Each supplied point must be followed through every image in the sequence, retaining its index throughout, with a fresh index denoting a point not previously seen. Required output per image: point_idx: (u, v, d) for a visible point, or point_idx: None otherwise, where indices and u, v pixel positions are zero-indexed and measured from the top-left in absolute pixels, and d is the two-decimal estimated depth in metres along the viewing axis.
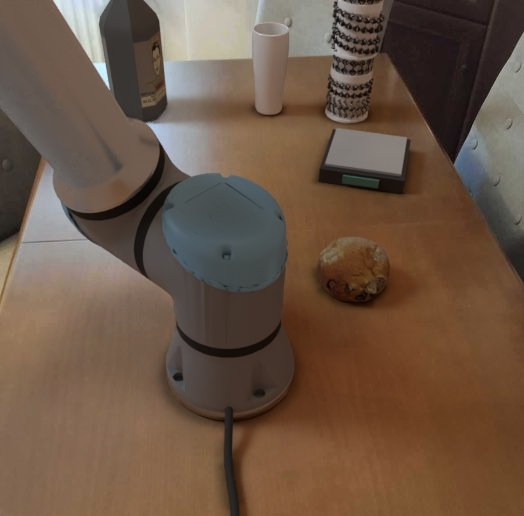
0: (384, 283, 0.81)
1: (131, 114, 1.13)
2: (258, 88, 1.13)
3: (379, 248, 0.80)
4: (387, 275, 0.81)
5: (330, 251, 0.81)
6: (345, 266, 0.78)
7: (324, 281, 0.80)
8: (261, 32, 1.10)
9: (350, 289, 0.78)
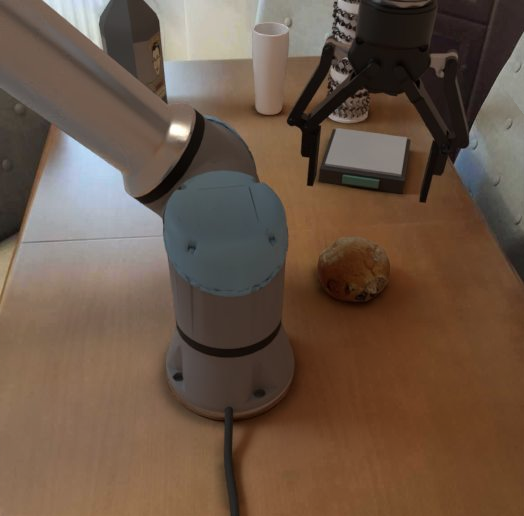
0: (384, 283, 0.81)
1: None
2: (258, 88, 1.13)
3: (379, 248, 0.80)
4: (387, 275, 0.81)
5: (330, 251, 0.81)
6: (345, 266, 0.78)
7: (324, 281, 0.80)
8: (261, 32, 1.10)
9: (350, 289, 0.78)
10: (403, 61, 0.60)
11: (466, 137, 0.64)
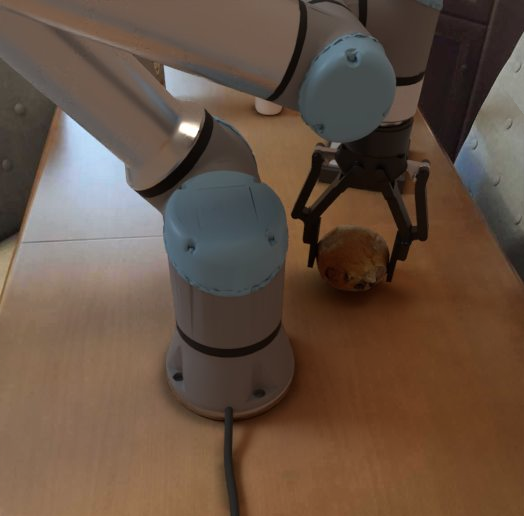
0: (383, 272, 0.79)
1: None
2: None
3: (379, 237, 0.79)
4: (387, 264, 0.79)
5: (329, 238, 0.79)
6: (344, 253, 0.76)
7: (322, 269, 0.79)
8: None
9: (349, 278, 0.77)
10: (384, 165, 0.69)
11: (426, 233, 0.74)
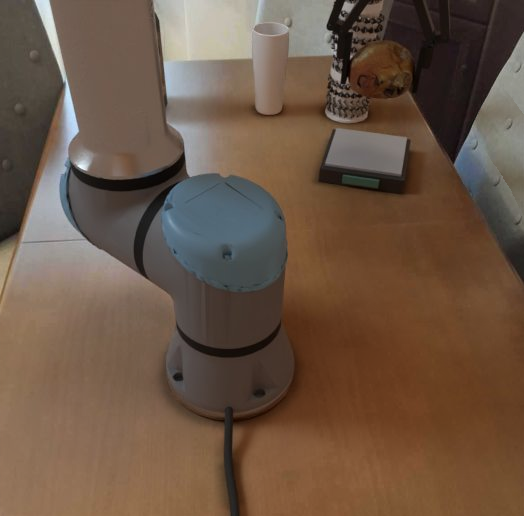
0: (410, 81, 0.88)
1: None
2: (258, 88, 1.13)
3: (405, 48, 0.88)
4: (412, 74, 0.88)
5: (360, 51, 0.88)
6: (375, 59, 0.85)
7: (355, 79, 0.88)
8: (261, 32, 1.10)
9: (379, 81, 0.86)
10: None
11: (448, 33, 0.82)
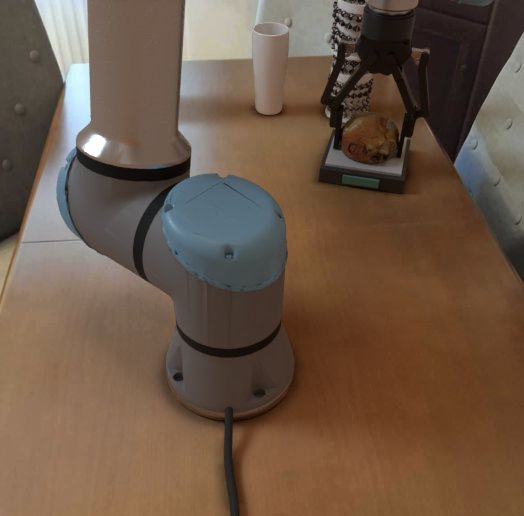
0: (394, 148, 0.99)
1: None
2: (258, 88, 1.13)
3: (390, 119, 0.99)
4: (397, 142, 0.99)
5: (350, 121, 0.99)
6: (363, 130, 0.97)
7: (346, 146, 0.99)
8: (261, 32, 1.10)
9: (367, 150, 0.97)
10: (394, 51, 0.89)
11: (427, 110, 0.94)
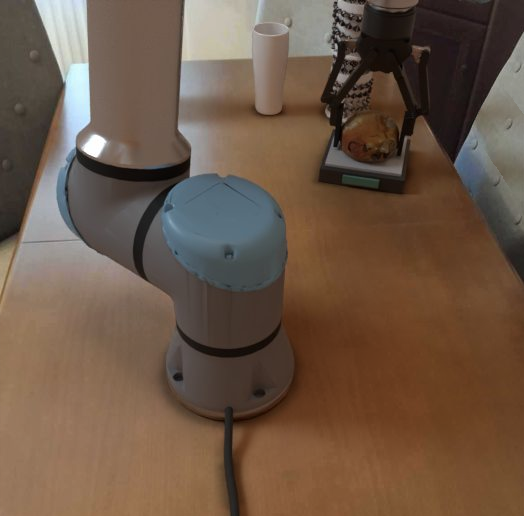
0: (394, 146, 0.99)
1: None
2: (258, 88, 1.13)
3: (390, 117, 0.99)
4: (397, 140, 0.99)
5: (350, 120, 0.99)
6: (363, 129, 0.96)
7: (346, 145, 0.99)
8: (261, 32, 1.10)
9: (367, 148, 0.96)
10: (394, 49, 0.89)
11: (427, 108, 0.93)
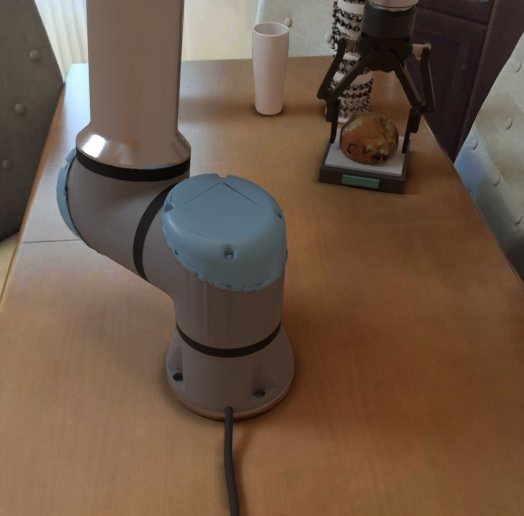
0: (394, 148, 0.99)
1: None
2: (258, 88, 1.13)
3: (390, 119, 0.99)
4: (396, 142, 0.99)
5: (350, 122, 0.99)
6: (363, 131, 0.97)
7: (345, 147, 0.99)
8: (261, 32, 1.10)
9: (367, 150, 0.97)
10: (394, 48, 0.88)
11: (433, 105, 0.93)
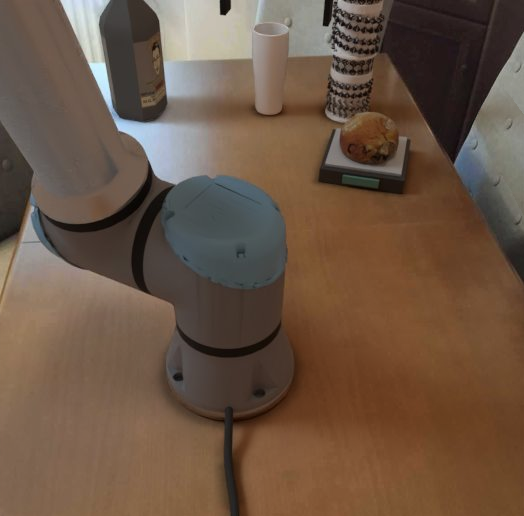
0: (394, 148, 0.99)
1: (131, 114, 1.13)
2: (258, 88, 1.13)
3: (390, 120, 0.99)
4: (396, 142, 0.99)
5: (350, 122, 0.99)
6: (363, 131, 0.97)
7: (345, 146, 0.99)
8: (261, 32, 1.10)
9: (367, 150, 0.97)
10: None
11: None
